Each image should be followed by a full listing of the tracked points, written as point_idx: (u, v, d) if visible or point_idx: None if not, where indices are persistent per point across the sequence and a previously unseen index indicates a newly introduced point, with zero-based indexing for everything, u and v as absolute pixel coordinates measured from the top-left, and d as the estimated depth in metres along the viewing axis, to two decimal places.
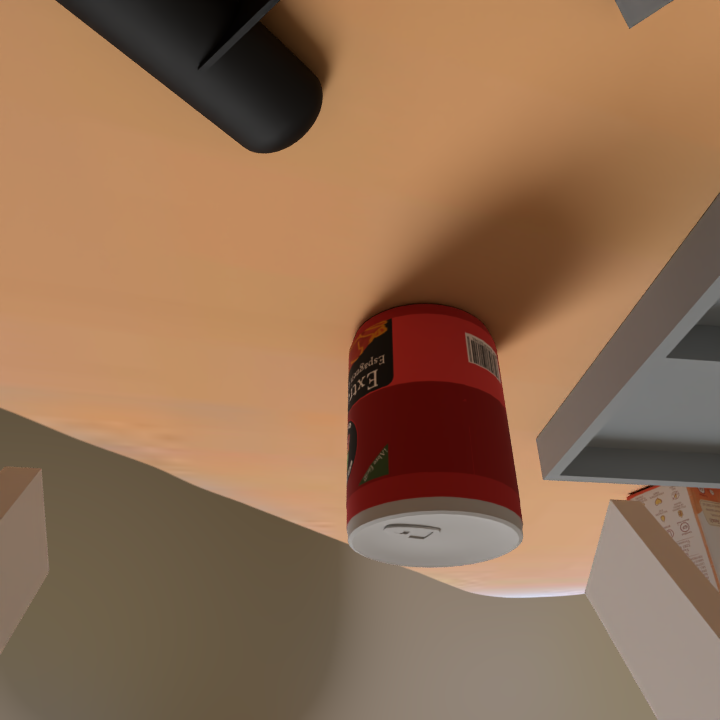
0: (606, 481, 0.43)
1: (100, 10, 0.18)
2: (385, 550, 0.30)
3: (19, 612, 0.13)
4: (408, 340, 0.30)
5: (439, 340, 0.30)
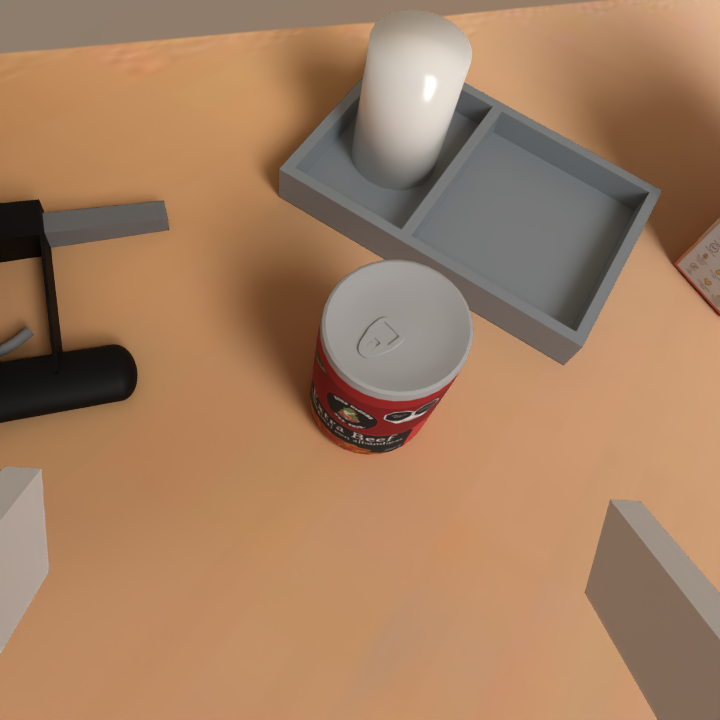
0: (603, 298, 0.44)
1: (2, 393, 0.37)
2: (413, 376, 0.31)
3: (19, 612, 0.13)
4: None
5: None
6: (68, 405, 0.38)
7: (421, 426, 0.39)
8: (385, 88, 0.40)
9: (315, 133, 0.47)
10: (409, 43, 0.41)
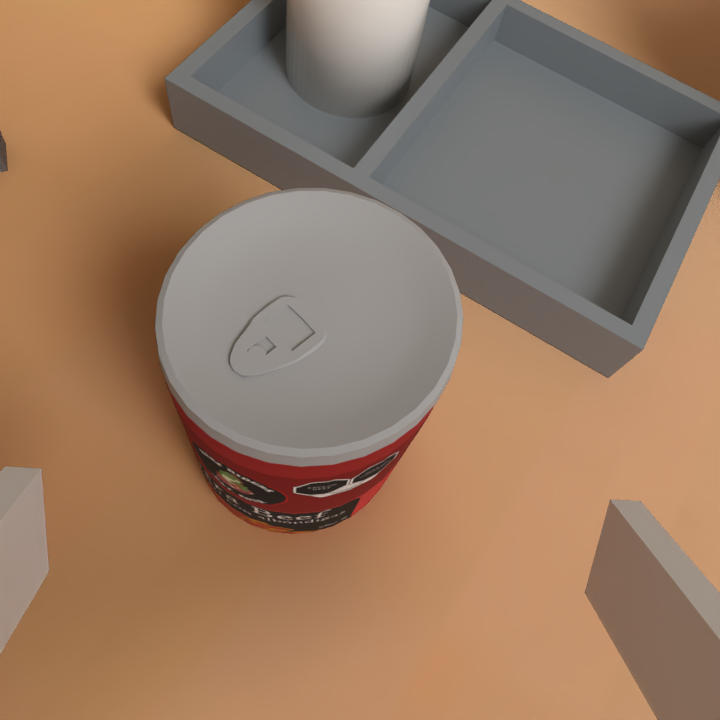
0: (670, 273, 0.28)
1: None
2: (341, 414, 0.15)
3: (19, 612, 0.13)
4: None
5: None
6: None
7: (380, 486, 0.23)
8: None
9: (225, 29, 0.31)
10: None
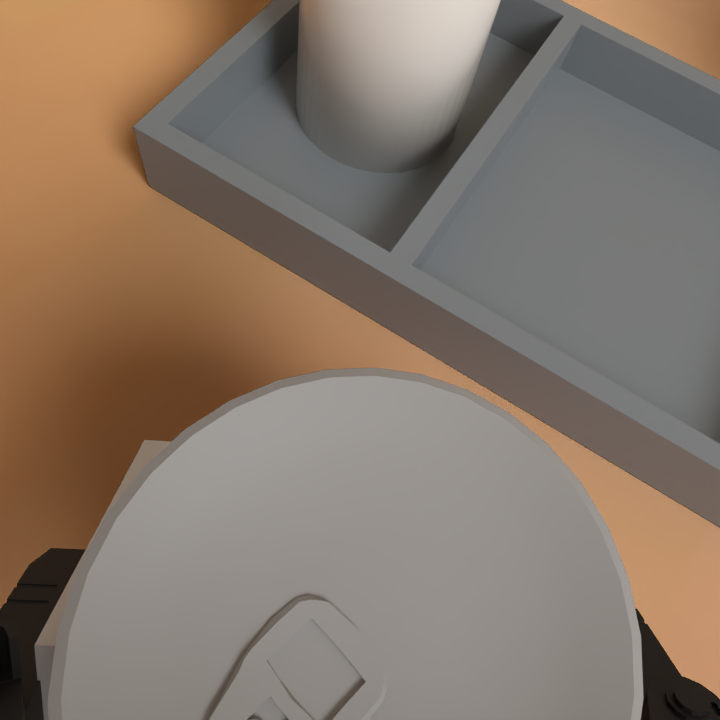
0: None
1: None
2: None
3: None
4: None
5: None
6: None
7: None
8: None
9: (216, 58, 0.23)
10: None
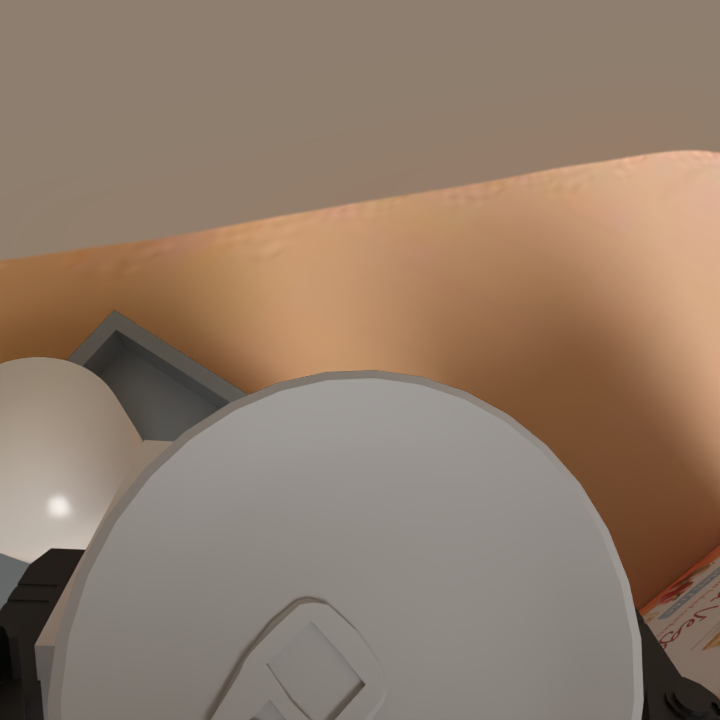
0: None
1: None
2: None
3: None
4: None
5: None
6: None
7: None
8: None
9: None
10: (0, 441, 0.22)
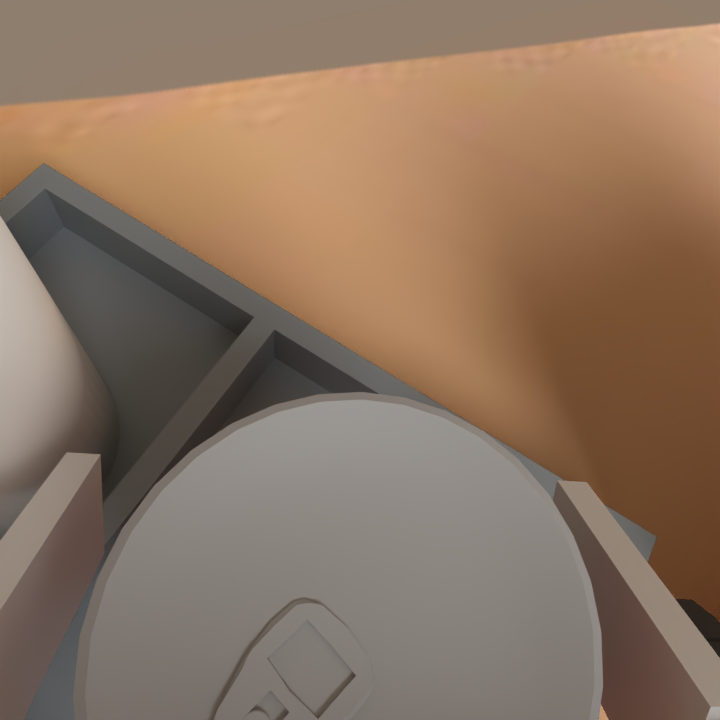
0: None
1: None
2: None
3: (82, 589, 0.14)
4: None
5: None
6: None
7: None
8: None
9: None
10: None
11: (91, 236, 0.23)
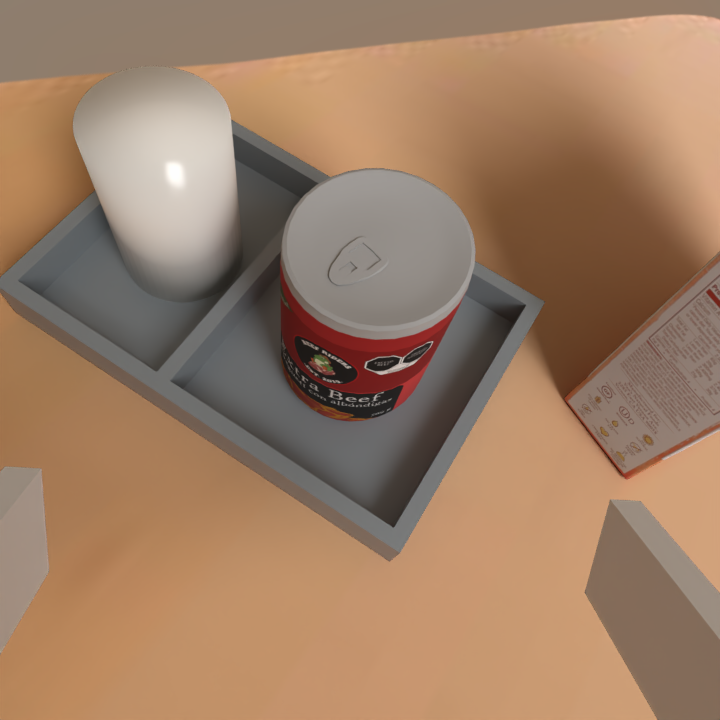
0: (440, 472, 0.31)
1: None
2: (400, 308, 0.24)
3: (19, 612, 0.13)
4: None
5: None
6: None
7: (415, 385, 0.32)
8: (100, 184, 0.28)
9: (58, 229, 0.34)
10: (135, 117, 0.28)
11: None
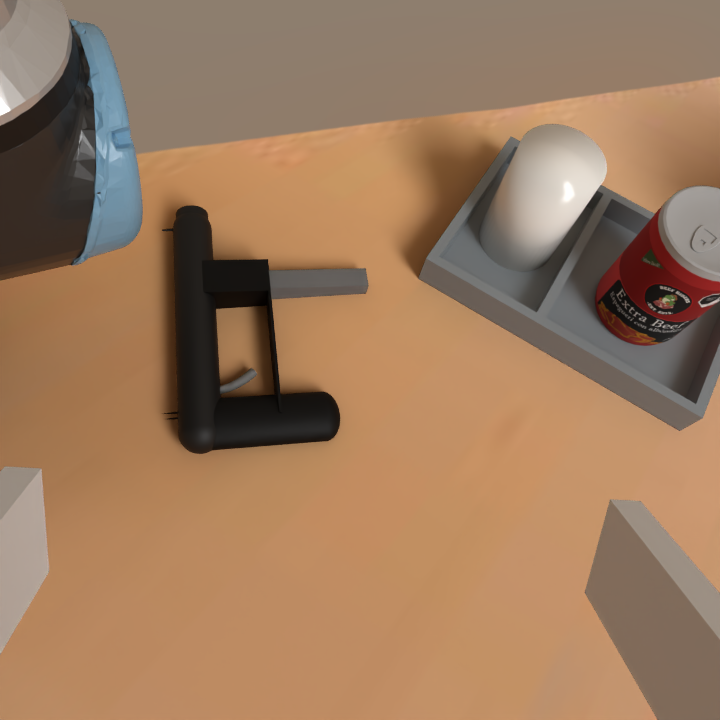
0: (716, 373, 0.50)
1: (238, 425, 0.44)
2: None
3: (19, 612, 0.13)
4: (605, 284, 0.52)
5: (609, 269, 0.52)
6: (286, 440, 0.45)
7: None
8: (532, 196, 0.46)
9: (453, 224, 0.53)
10: (552, 156, 0.47)
11: None
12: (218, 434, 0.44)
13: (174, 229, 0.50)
